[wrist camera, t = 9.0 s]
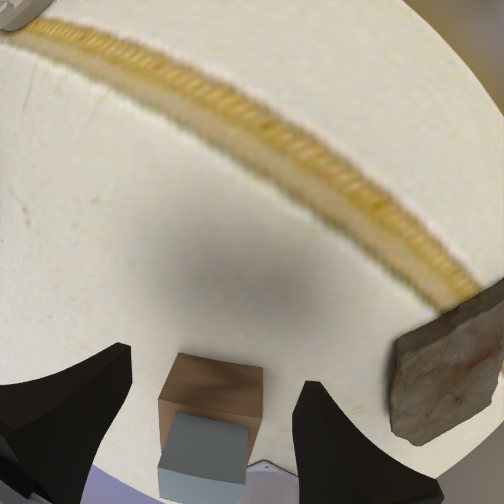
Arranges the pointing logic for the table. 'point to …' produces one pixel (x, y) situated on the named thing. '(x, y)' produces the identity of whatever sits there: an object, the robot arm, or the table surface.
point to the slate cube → (203, 461)
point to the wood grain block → (212, 394)
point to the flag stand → (19, 12)
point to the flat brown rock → (448, 368)
